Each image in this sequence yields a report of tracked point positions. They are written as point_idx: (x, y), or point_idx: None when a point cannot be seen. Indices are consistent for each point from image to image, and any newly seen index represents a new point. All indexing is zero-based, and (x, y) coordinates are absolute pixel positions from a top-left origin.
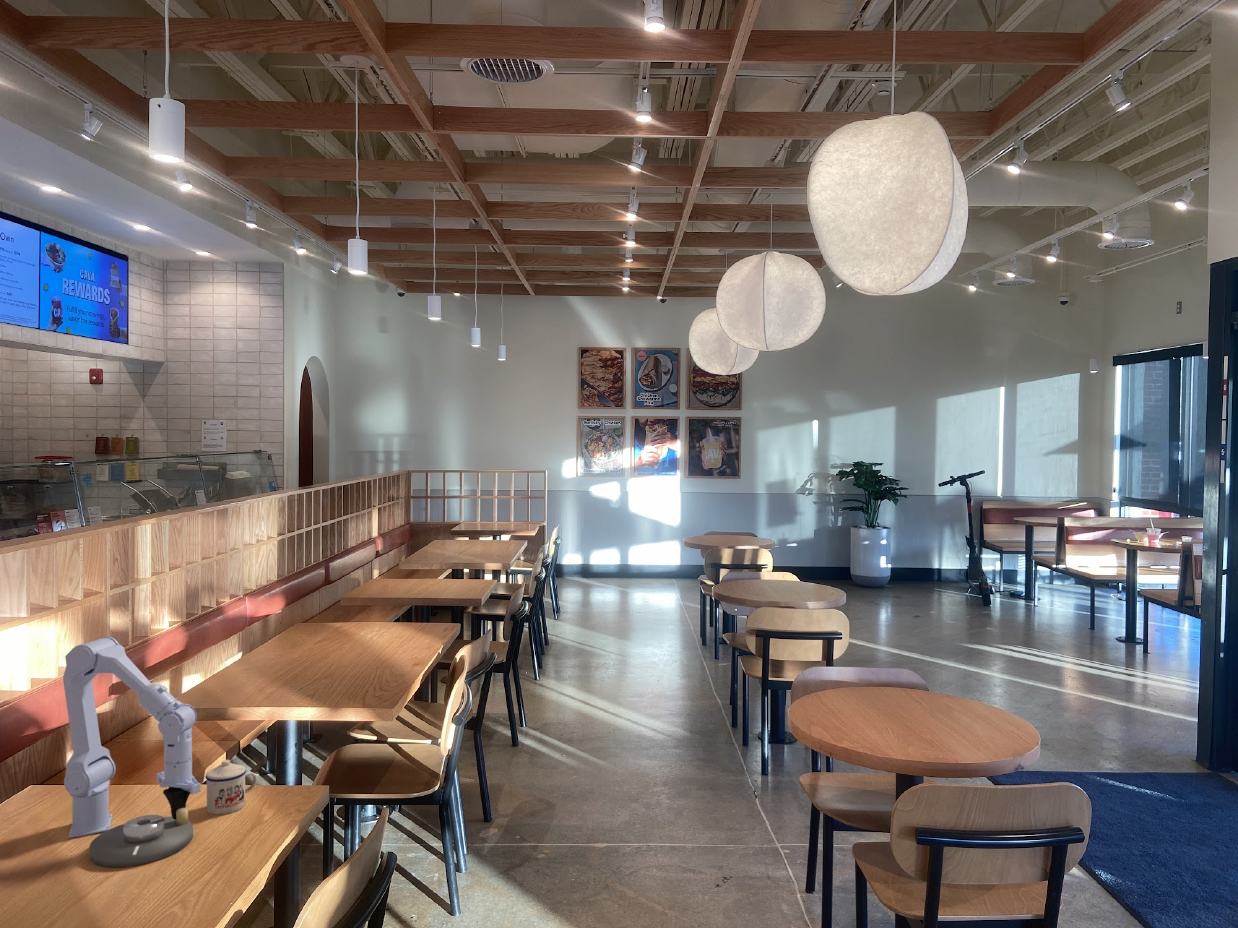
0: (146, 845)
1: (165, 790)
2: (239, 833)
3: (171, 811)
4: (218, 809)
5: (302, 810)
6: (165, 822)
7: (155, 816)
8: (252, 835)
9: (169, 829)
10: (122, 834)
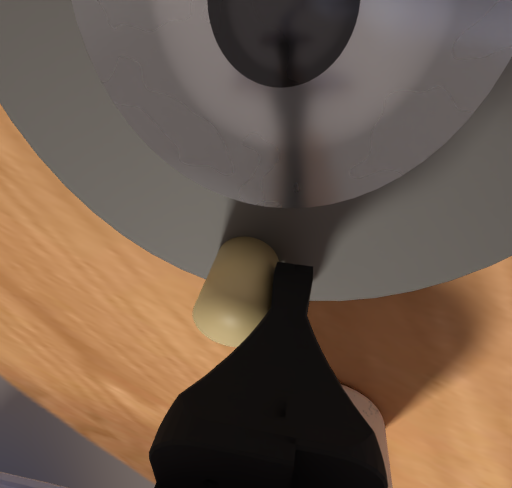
0: None
1: (349, 472)
2: (55, 301)
3: (302, 292)
4: None
5: (90, 431)
6: (353, 232)
7: (309, 173)
8: (7, 303)
9: None
10: None
